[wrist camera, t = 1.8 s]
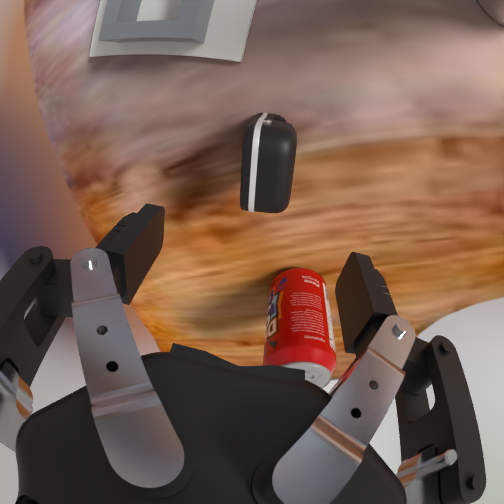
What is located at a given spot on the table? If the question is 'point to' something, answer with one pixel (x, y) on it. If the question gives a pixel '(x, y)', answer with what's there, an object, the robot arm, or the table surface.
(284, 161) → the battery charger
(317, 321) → the soda can
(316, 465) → the robot arm
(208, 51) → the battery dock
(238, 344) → the table surface
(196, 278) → the table surface
